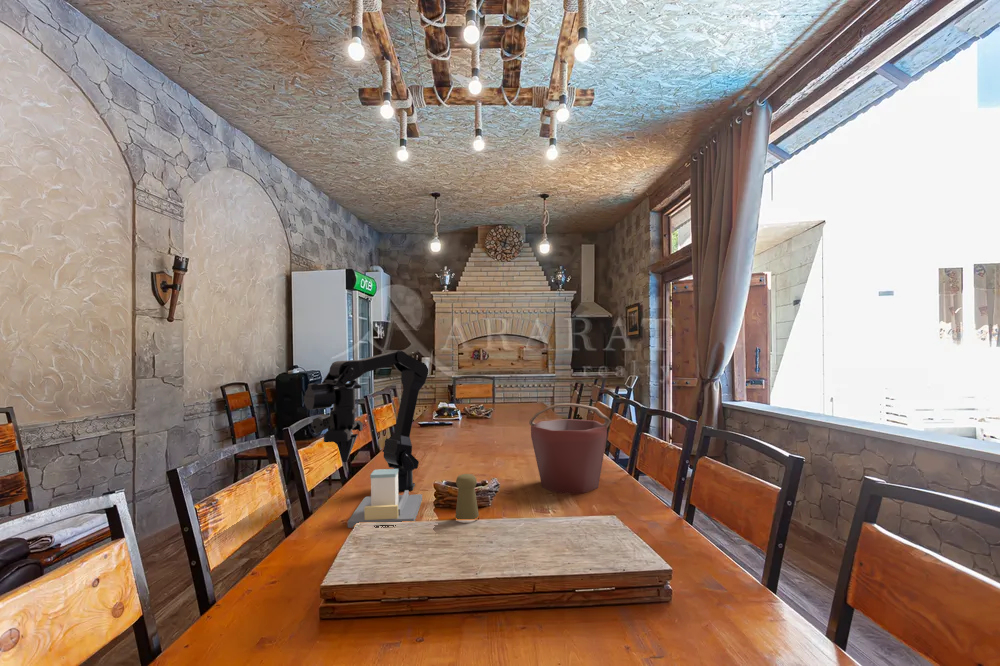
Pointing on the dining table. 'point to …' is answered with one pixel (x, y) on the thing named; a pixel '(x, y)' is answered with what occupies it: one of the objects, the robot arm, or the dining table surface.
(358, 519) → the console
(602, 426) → the bucket
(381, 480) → the white teal-topped box
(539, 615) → the dining table surface
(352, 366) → the robot arm
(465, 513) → the olive green pawn
